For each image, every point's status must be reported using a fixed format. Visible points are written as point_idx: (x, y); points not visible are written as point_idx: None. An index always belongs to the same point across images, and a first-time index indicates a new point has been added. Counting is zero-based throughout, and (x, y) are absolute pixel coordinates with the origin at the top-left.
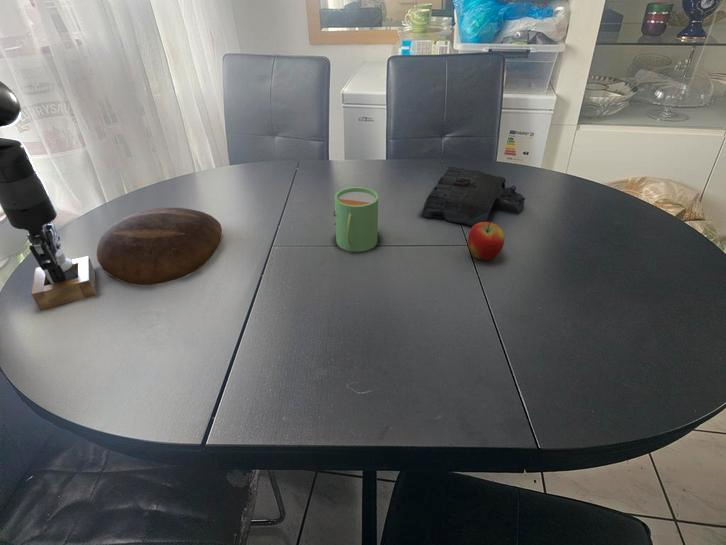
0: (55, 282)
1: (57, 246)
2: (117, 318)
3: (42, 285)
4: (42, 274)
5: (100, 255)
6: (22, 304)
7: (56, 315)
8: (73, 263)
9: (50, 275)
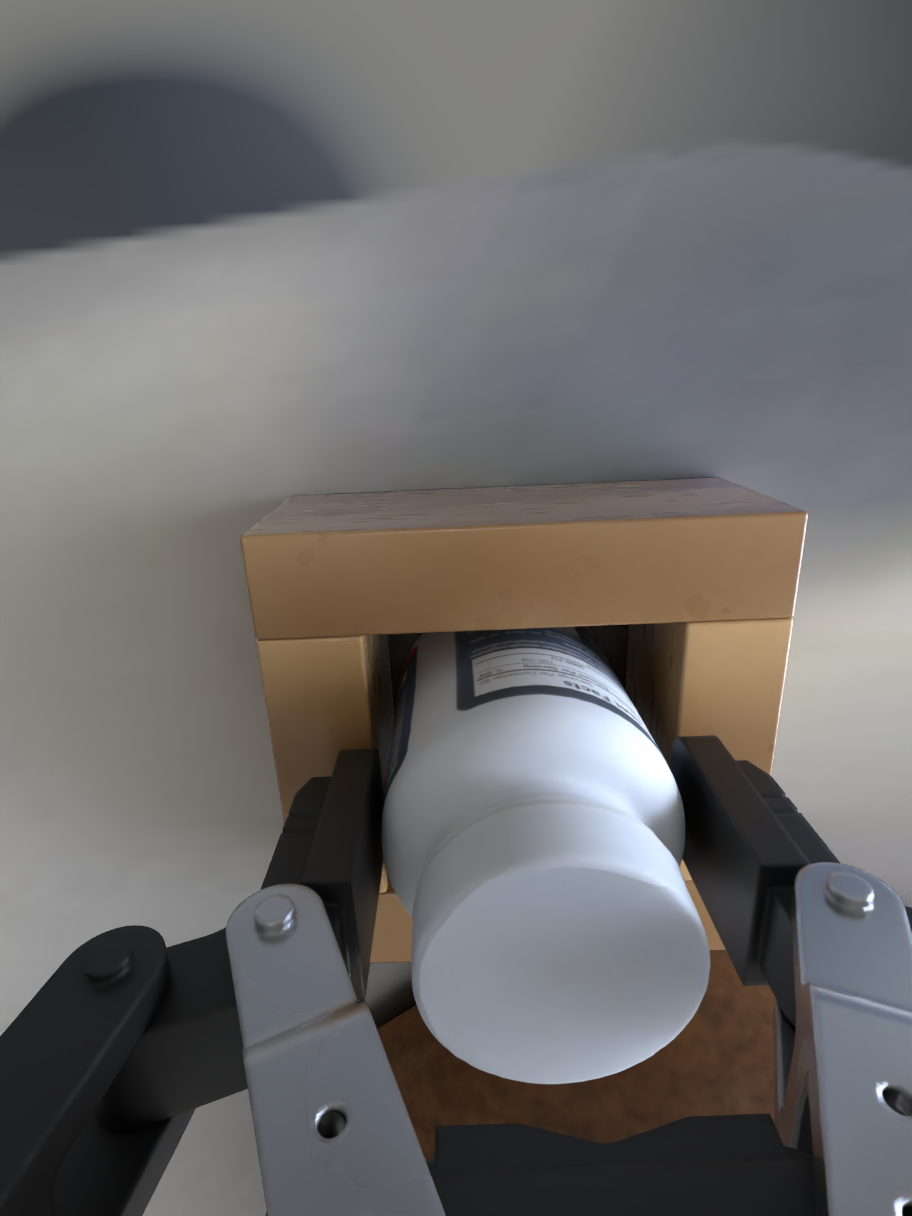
0: (402, 721)
1: (778, 1016)
2: (29, 955)
3: (374, 625)
4: (607, 603)
5: (651, 1061)
6: (440, 334)
7: (173, 620)
8: None
9: (326, 801)
